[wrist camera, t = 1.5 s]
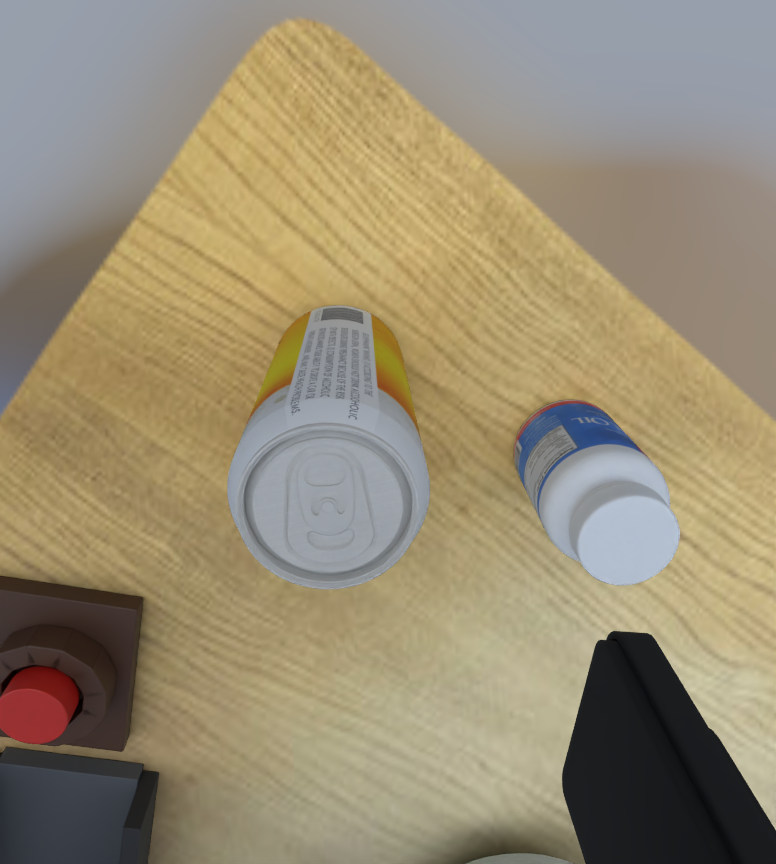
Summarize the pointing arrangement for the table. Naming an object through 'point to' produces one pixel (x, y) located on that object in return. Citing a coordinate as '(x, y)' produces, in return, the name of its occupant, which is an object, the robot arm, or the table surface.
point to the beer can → (331, 455)
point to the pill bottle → (596, 492)
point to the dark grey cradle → (74, 809)
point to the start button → (38, 705)
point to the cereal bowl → (520, 859)
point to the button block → (75, 652)
